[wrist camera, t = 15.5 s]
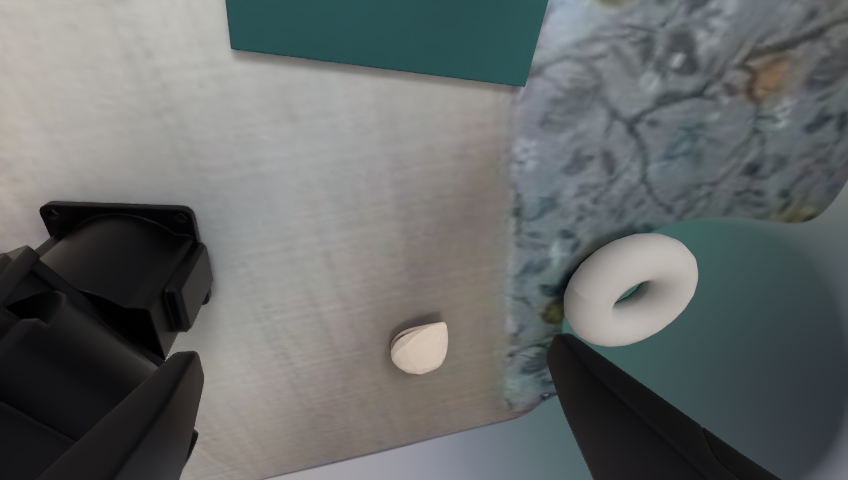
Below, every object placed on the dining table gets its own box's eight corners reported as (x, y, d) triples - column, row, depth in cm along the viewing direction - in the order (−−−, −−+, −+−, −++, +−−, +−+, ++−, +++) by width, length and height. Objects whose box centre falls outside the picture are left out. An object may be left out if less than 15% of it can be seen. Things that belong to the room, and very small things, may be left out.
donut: (652, 311, 32) (693, 213, 27) (682, 341, 30) (735, 240, 24) (546, 333, 31) (565, 236, 25) (567, 366, 28) (593, 266, 23)
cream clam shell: (378, 344, 28) (382, 372, 26) (417, 300, 26) (424, 325, 24) (423, 360, 30) (429, 387, 28) (462, 319, 28) (471, 345, 26)
